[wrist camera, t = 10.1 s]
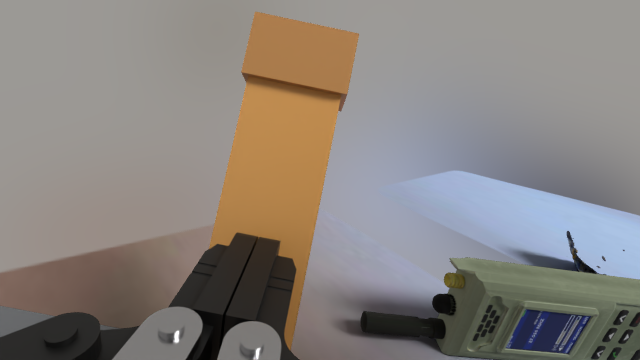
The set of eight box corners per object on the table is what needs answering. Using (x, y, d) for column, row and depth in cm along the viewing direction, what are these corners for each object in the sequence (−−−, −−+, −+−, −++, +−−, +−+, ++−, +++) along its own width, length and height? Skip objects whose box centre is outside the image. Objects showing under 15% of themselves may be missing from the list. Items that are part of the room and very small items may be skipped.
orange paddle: (282, 410, 13) (351, 59, 15) (277, 450, 11) (359, 33, 12) (184, 391, 13) (263, 41, 15) (159, 428, 11) (255, 11, 12)
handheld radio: (691, 384, 24) (362, 358, 21) (645, 347, 27) (353, 318, 24) (748, 312, 22) (390, 270, 18) (692, 280, 25) (376, 239, 21)
